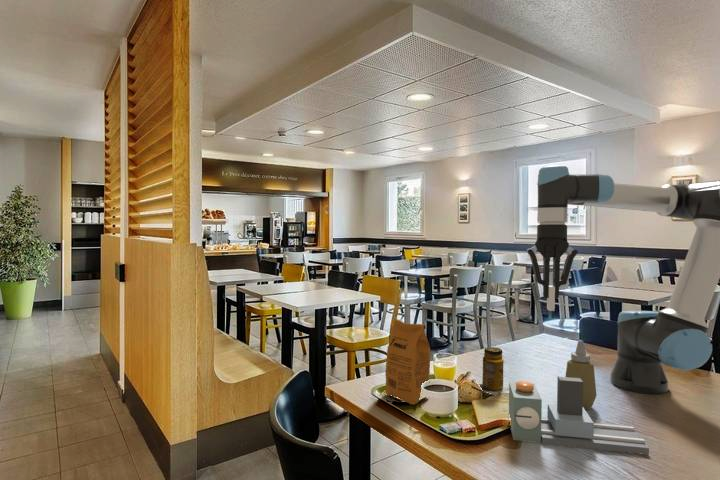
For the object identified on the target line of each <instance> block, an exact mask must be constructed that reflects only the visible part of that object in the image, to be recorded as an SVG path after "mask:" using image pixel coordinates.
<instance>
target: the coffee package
mask: <svg viewBox="0 0 720 480" xmlns="http://www.w3.org/2000/svg"><path fill="white" fill-rule="evenodd" d="M426 328H427V327H426V325H425V324H424V323H405V322H404V321H402V320H400V319H398V318H394V321H393V326H392V328H391V332H390V337H389V340H388V345H387V349H386V351H387V352H386V361H385V395H386V394H387V395H393V396H395V397H398V398H400V399H403V400H405V401H406V402H407V403H409V405H411V406H413V405H416V404H418V403H420V402H419V398H420V392H421V385H422V383H424V382H425V381H428V380H429V381H430V374H431V371H430V370H431V369H430V368H431V347H430V343H429V341H428V338H427V334H426V332H425V330H426ZM407 403H406V404H407Z"/></svg>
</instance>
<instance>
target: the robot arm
mask: <svg viewBox="0 0 720 480" xmlns="http://www.w3.org/2000/svg"><path fill="white" fill-rule="evenodd" d="M536 185H537V216H536V217H537V223H539V224H538V225H537V226H536V240H535V243H534V245H533V246H532V247H531V248H527V249H526V253H527V254H528V256H529V257H530V260H531V261H530V262H531V265H532V269H533V273H534V278H535V281H536V283H537V284H539V285H542V296H543V298H544V299H546V309H547V310H548V311H549V312H555V309H556V300H555V299H559V298H560V287H561V286H564V285H567V283H568V279H569V276H570V272H571V269H572V266H573V263H574V259H575V257H576V255H578V253H579V251H578V250H577V249H574V248H573V247H571V246H570V244H569V242H568V225H567V224H566V223H568V206H569V205H572V206H582V207H583V206H585V207H594V208H595V207H596V208H597V207H598V208H605V209H606V208H608V209H617V210H631V211H641V212H650V213H652V212H653V213H654V212H655V213H656V214H657V215H659V216H661V217H670V218H677V219H682V220H688V221H692V223H693V225H694V226H695V228H696V230H695V233H694V235H693V238H692V240H691V243H690V246H689V248H688V251H687V253H686V256H685V259H684V261H683V264H682V268H681V270H680V273H679V276H678V278H677V280H676V283H675V286H674V289H673V291H672V294H671V296H670V299H669V302H668V305H667V307H665V308H662V309H661V310H659V311H655V310H653V311H651V310H622V311H621V312H619V314H618V317H617V357H616V360H615V363H614V364H613V367H612V369H611V372H610V383H612V384H613V385H615V386H617V387H619V388H621V389H624V390H628V391H631V392H636V393H641V394H642V393H643V394H650V395H653V394H654V395H656V394H659V395H660V394H665V393H666V392H668V391H669V380H668V378H667V375H666V372H665V369H664V367H663V366H665V365H666V366H667V367H670V368H673V369H677V370H679V371H692V370H696V369H699V368H700V367H702V366H704V365H705V364H706V363H707V362H708V361H709V359H710V357H711V355H712V353H713V344H712V343H711V342H712V340H711V338H710V336H709V335H708V330H709V325H708V324H707V322H706V320H705V319H706V318H705V317H706V316H707V312H708V309H709V307H710V304H711V302H712V299H713V298H714V294H715V291H716V290H717V286H718V284H719V280H720V179H717V180H712V181H711V180H710V181H699V182H693V183H685V184H663V185H662V186H661V187H660V186H649V185H648V186H647V185H637V184H625V183H615V181H614V179H613V177H612V176H610V175H609V174H600V173H597V174H594V173H590V174H589V173H588V174H581V173H579V174H577V173H576V174H573V173H570V172H569V168H568V167H567V166H566V165H565V166H564V165H548V166H543V167H541V168H540V169H539V170H538V175H537V183H536ZM537 251H538V252H539V254H540V255H541V257H542V263H543V264H542V265H543V266H542V275H541V270H540V267H539V263H538V259H537V254H538V253H537ZM564 253H566V258H565V261H564V264H563V269H562V272H561V271H560V270H561V268H560V267H561V257H562V256H563V255H564ZM551 258H552V265H553V266H552V284H553V285H550V272H551V271H550V269H551V268H550V263H551ZM560 274H561V277H560ZM663 364H664V365H663Z"/></svg>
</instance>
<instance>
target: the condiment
mask: <svg viewBox="0 0 720 480" xmlns="http://www.w3.org/2000/svg"><path fill="white" fill-rule="evenodd" d="M483 350H484V351H483V352H484V353H483V357H482V383H481V384H478V385H480V387H481V388H482V390H483V391H484V392H483V393H485V392H488V393H491V394H492V395H494V394H498V393H502V392H505V391H509V387H505V386H504V358H503V350H502V349H501V348H499V347H494V346H488V347H485V348H484V349H483Z"/></svg>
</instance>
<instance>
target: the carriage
mask: <svg viewBox="0 0 720 480" xmlns="http://www.w3.org/2000/svg"><path fill="white" fill-rule="evenodd" d="M556 385H557V388H556V389H557V391H556V392H557V393H556V396H557V398H556V403H547V411H546V412H547V414H546V415H547V416H546V418H548V419H549V420H550V422H551V424H552V427H553V429H554V431H555V435H559V436H569V437H579V438H589V439H594V422H595V421H593V420H592V418H591V416H590V415H589V414H588V412H587V411H586V410H585V409H584V408H583V381H582V380H581V379H580V378H569V377H565V376H557V384H556Z"/></svg>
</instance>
